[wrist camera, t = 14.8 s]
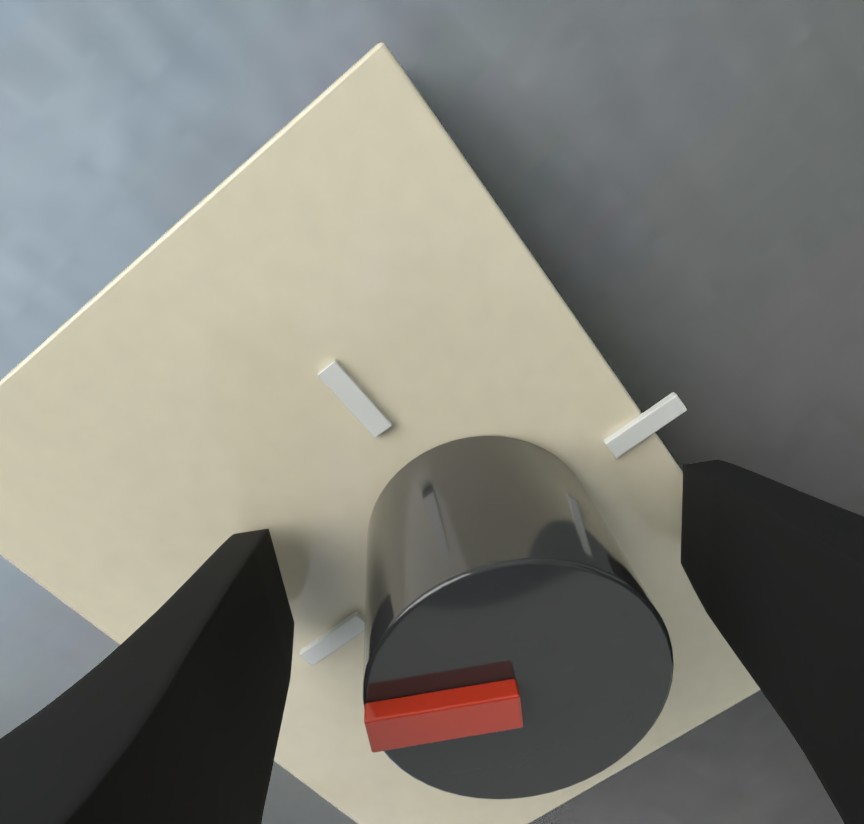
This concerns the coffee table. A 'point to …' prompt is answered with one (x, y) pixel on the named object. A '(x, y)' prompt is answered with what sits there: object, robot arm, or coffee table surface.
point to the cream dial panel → (331, 418)
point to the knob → (504, 626)
